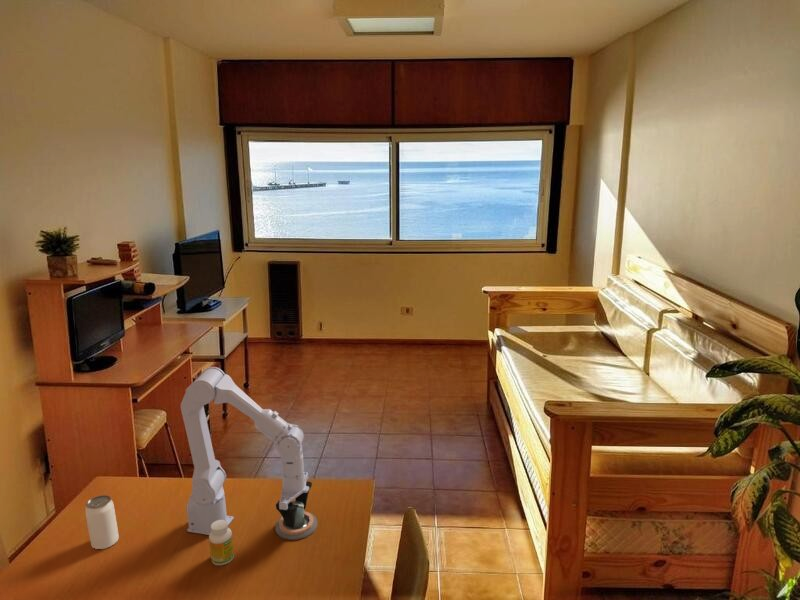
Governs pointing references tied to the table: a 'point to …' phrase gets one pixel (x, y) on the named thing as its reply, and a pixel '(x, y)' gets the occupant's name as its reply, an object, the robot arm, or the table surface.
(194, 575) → the table surface
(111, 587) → the table surface
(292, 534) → the socket
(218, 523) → the supplement bottle
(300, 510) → the cylinder with tan strip
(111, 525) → the can
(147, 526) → the table surface
